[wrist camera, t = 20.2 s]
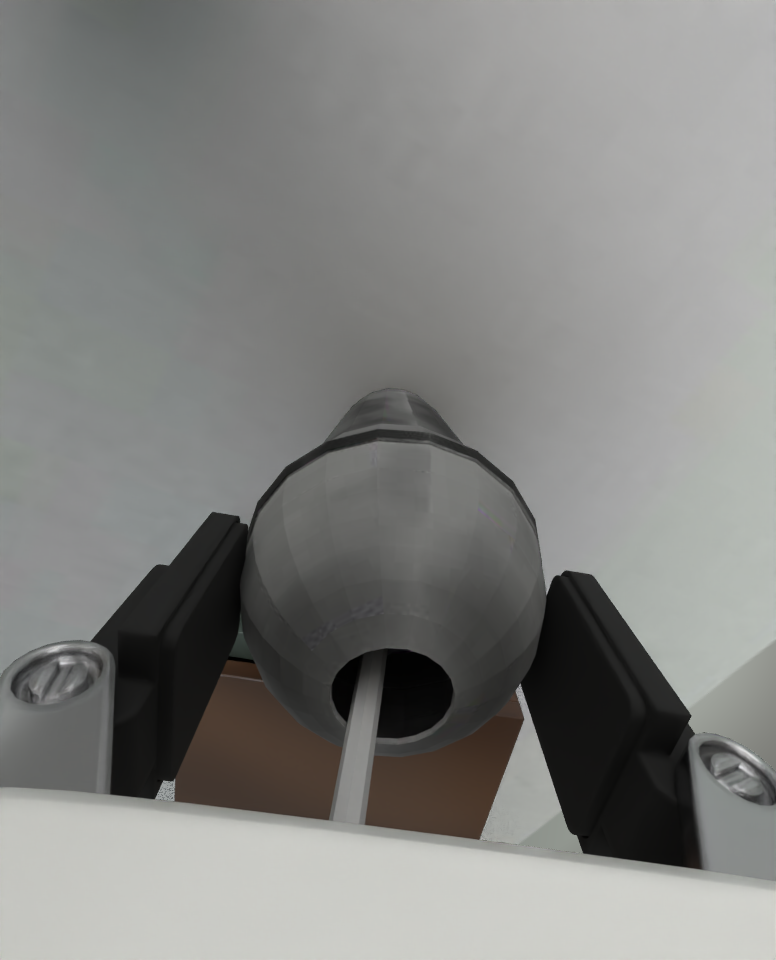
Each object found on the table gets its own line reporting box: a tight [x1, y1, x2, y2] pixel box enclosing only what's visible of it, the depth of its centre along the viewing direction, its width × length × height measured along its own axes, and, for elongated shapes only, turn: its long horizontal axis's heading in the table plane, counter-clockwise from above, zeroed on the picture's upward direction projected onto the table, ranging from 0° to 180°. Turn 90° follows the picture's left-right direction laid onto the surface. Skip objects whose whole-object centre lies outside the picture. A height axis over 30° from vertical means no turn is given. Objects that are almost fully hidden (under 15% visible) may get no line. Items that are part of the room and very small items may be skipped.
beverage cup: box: [240, 389, 547, 825], centre depth 13 cm, size 7×7×20 cm
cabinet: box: [174, 656, 524, 840], centre depth 25 cm, size 15×13×9 cm
